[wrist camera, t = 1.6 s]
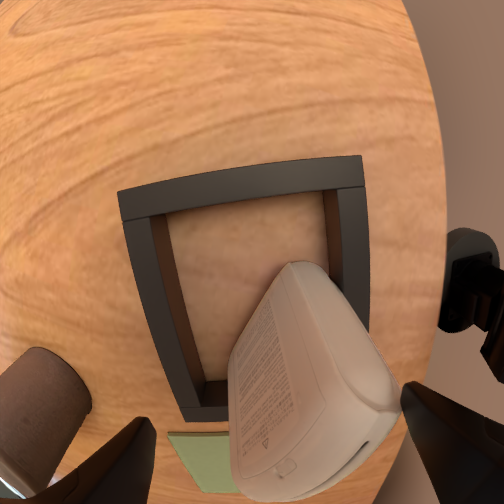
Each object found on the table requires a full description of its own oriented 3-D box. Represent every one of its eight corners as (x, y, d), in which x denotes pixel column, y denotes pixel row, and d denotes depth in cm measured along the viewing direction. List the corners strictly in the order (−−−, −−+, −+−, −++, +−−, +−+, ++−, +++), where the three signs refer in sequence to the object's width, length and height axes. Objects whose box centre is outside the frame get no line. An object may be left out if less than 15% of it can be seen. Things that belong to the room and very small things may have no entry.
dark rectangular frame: (343, 158, 17) (362, 154, 14) (351, 376, 21) (362, 399, 18) (136, 189, 18) (116, 191, 14) (191, 397, 22) (185, 422, 19)
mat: (347, 414, 23) (349, 418, 22) (338, 475, 26) (339, 479, 25) (168, 431, 23) (166, 435, 22) (203, 489, 26) (202, 492, 26)
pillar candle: (107, 417, 23) (57, 523, 8) (51, 411, 23) (0, 490, 9) (63, 343, 21) (-28, 447, 6) (12, 346, 21) (-63, 418, 6)
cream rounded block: (269, 376, 21) (294, 516, 10) (220, 362, 20) (222, 515, 9) (339, 273, 18) (442, 419, 7) (285, 248, 17) (368, 421, 6)
